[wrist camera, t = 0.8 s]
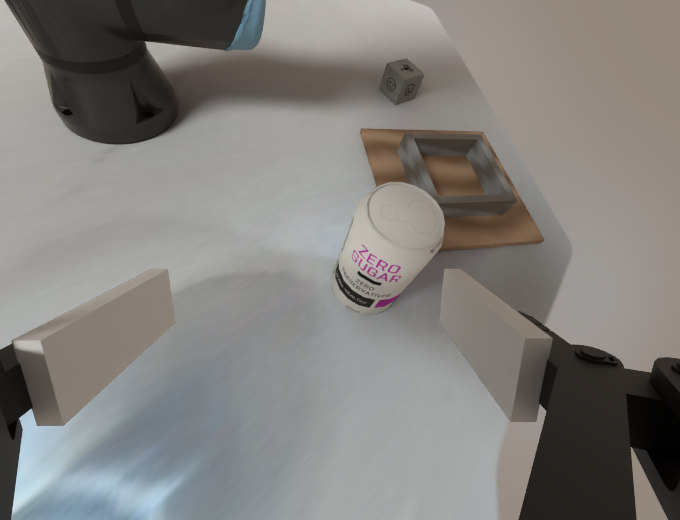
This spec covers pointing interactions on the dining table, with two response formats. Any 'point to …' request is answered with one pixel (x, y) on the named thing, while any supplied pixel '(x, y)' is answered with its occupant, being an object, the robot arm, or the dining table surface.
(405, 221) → the supplement can
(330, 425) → the dining table surface
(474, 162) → the collar board
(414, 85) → the dice cube
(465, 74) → the dining table surface
